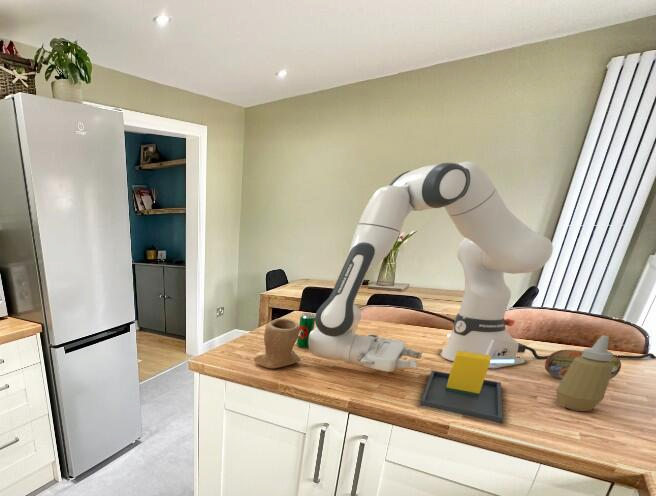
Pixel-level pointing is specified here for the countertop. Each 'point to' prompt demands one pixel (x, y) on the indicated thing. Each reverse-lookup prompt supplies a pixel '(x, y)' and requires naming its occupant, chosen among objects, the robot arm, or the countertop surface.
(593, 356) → the squeeze bottle
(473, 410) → the tray
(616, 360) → the tin
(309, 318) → the soda can
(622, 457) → the countertop surface
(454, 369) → the sponge
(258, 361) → the stone cup
